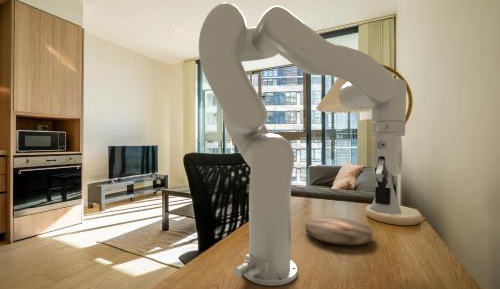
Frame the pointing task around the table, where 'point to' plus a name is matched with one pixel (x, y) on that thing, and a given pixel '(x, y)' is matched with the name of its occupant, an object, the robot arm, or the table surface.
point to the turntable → (339, 230)
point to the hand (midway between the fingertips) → (385, 201)
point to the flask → (394, 204)
